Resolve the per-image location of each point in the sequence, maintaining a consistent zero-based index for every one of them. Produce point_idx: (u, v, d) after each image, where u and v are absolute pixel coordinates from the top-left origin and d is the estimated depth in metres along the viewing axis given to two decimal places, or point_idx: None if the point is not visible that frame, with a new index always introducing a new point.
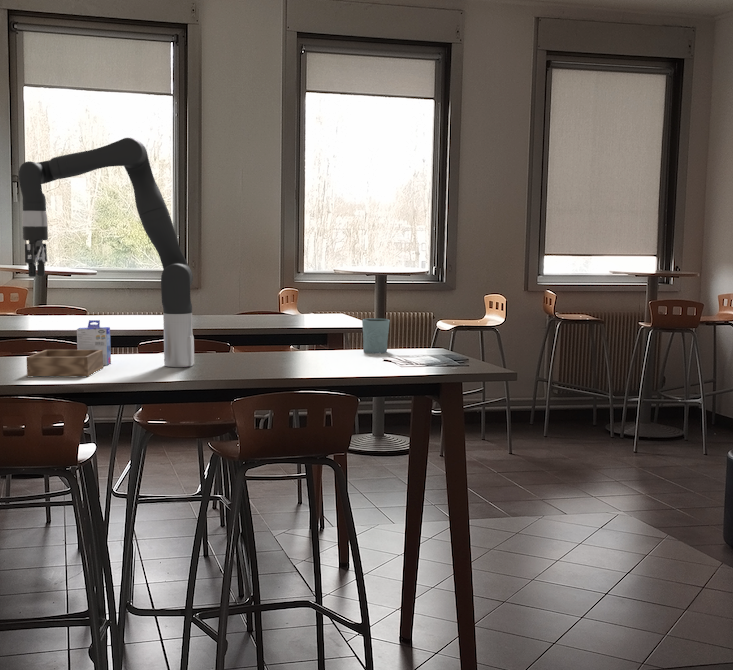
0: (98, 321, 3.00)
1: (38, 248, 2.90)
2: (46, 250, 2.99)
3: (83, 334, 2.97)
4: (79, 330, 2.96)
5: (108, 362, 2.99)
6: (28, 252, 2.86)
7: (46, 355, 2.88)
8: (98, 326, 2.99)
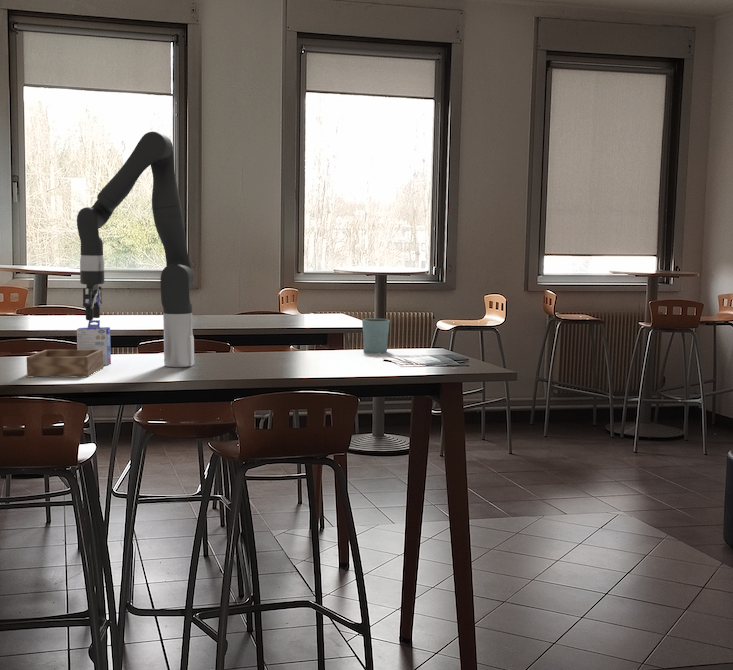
0: (98, 321, 3.00)
1: (95, 292, 2.96)
2: (101, 292, 3.05)
3: (83, 334, 2.97)
4: (79, 330, 2.96)
5: (108, 362, 2.99)
6: (86, 296, 2.91)
7: (46, 355, 2.88)
8: (98, 326, 2.99)
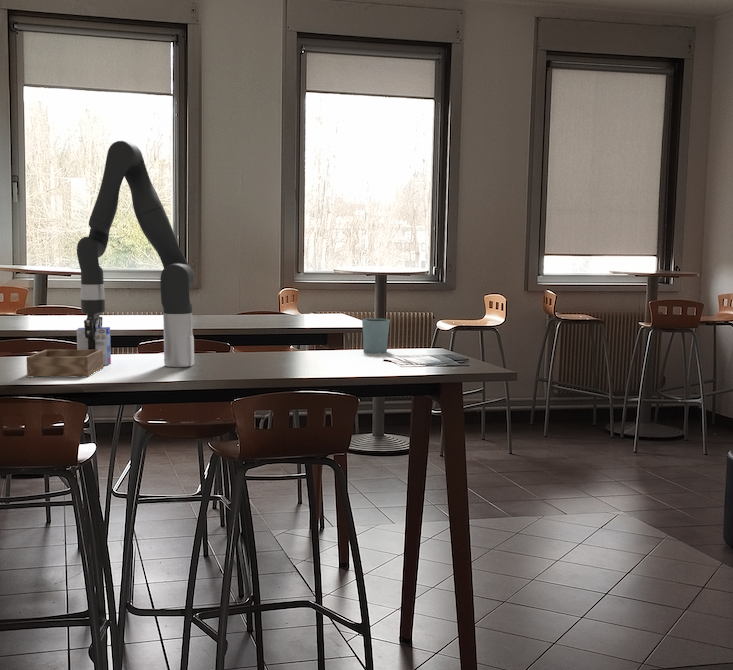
0: None
1: (96, 321, 2.97)
2: None
3: (83, 334, 2.97)
4: (79, 330, 2.96)
5: (108, 362, 2.99)
6: (88, 328, 2.93)
7: (46, 355, 2.88)
8: (98, 326, 2.99)
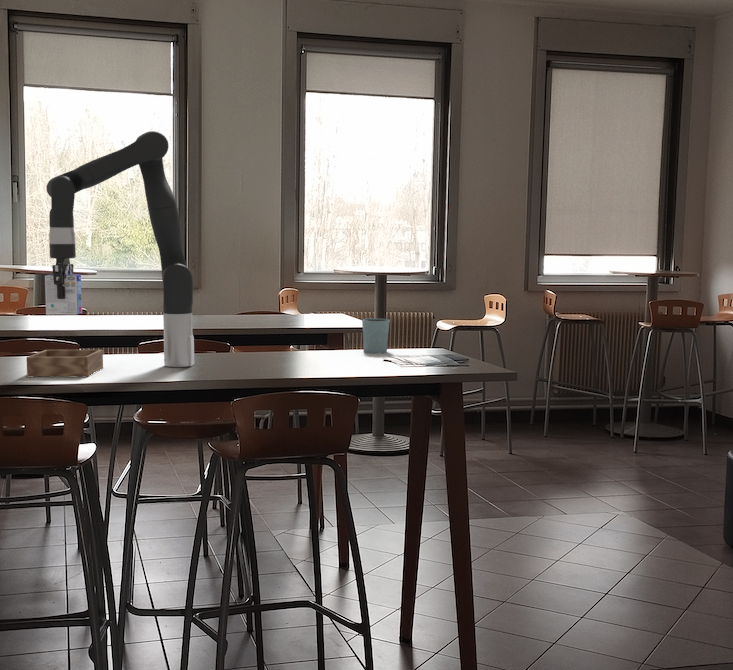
0: None
1: (66, 267, 2.77)
2: None
3: (52, 281, 2.77)
4: (47, 277, 2.76)
5: (79, 311, 2.79)
6: (56, 274, 2.73)
7: (46, 355, 2.88)
8: (68, 273, 2.79)
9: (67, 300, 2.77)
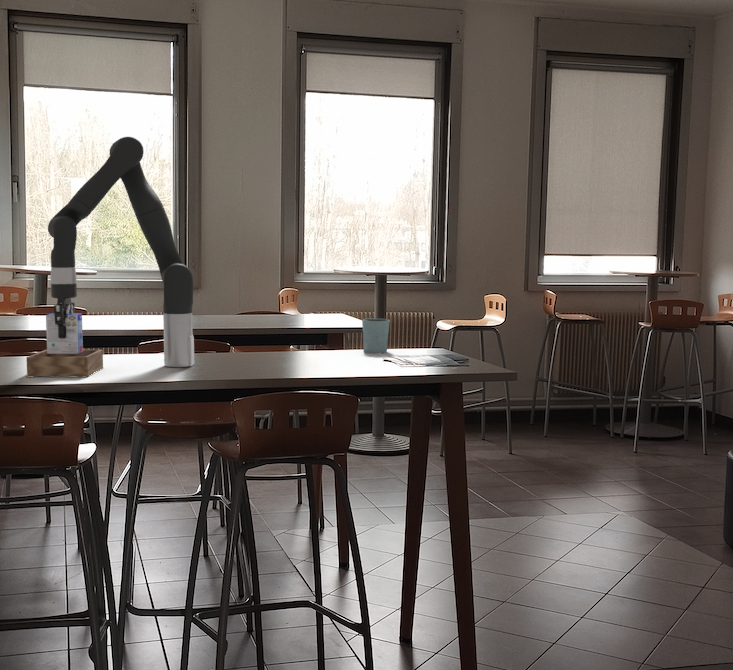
0: None
1: (67, 307, 2.78)
2: None
3: (53, 320, 2.78)
4: (48, 316, 2.78)
5: (80, 350, 2.81)
6: (57, 314, 2.74)
7: (46, 355, 2.88)
8: (69, 312, 2.81)
9: (68, 340, 2.79)
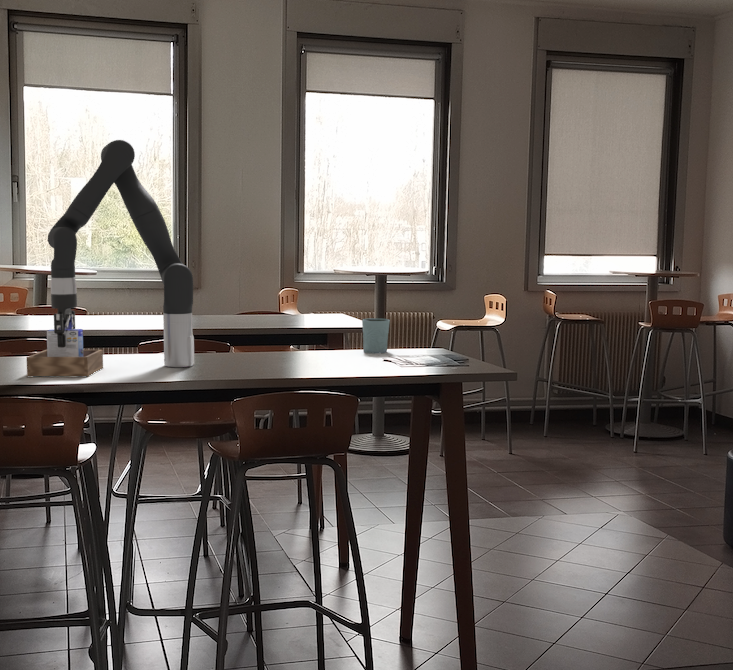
0: (70, 322, 2.82)
1: (67, 317, 2.78)
2: (74, 317, 2.87)
3: (53, 336, 2.78)
4: (49, 332, 2.78)
5: None
6: (57, 323, 2.74)
7: (46, 355, 2.88)
8: (70, 328, 2.81)
9: (69, 355, 2.79)
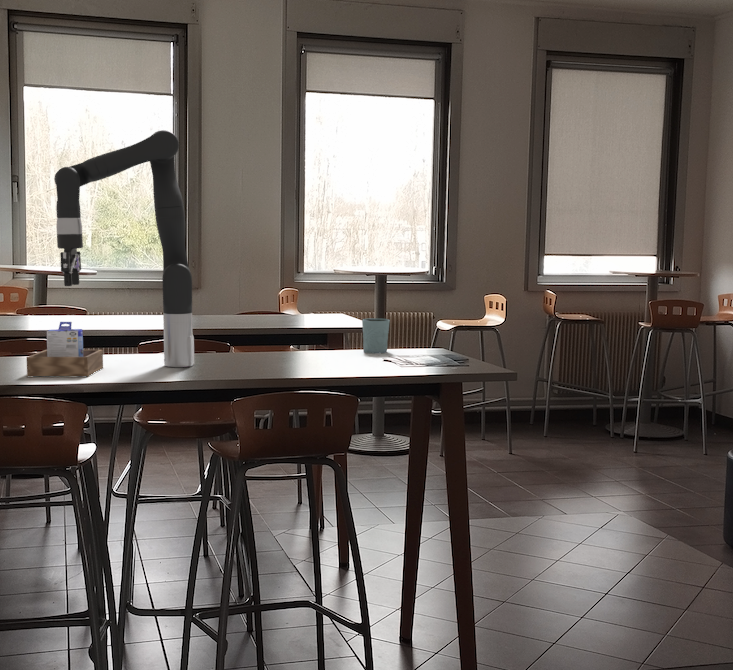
0: (70, 322, 2.82)
1: (73, 256, 2.81)
2: (80, 258, 2.90)
3: (53, 336, 2.78)
4: (49, 332, 2.78)
5: None
6: (64, 261, 2.76)
7: (46, 355, 2.88)
8: (70, 328, 2.81)
9: (69, 355, 2.79)
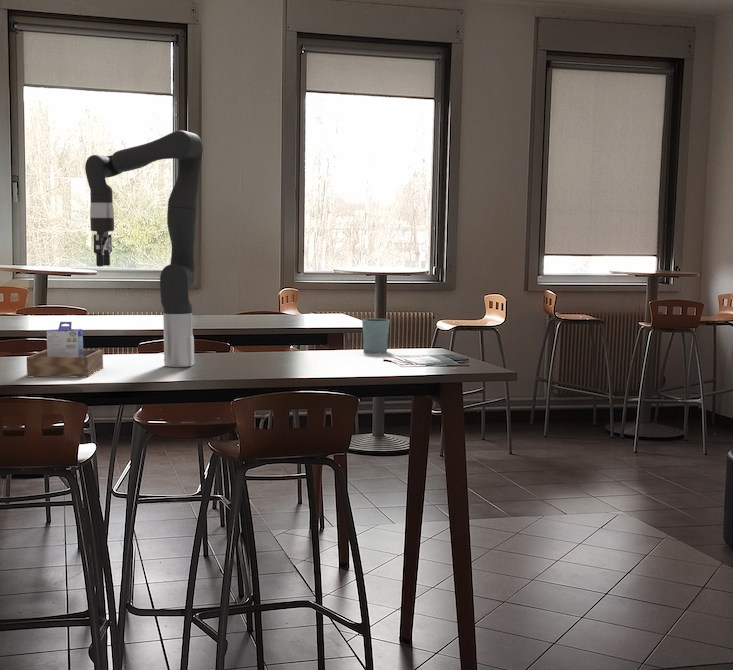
0: (70, 322, 2.82)
1: (105, 239, 3.01)
2: (111, 241, 3.10)
3: (53, 336, 2.78)
4: (49, 332, 2.78)
5: None
6: (97, 242, 2.96)
7: (46, 355, 2.88)
8: (70, 328, 2.81)
9: (69, 355, 2.79)
